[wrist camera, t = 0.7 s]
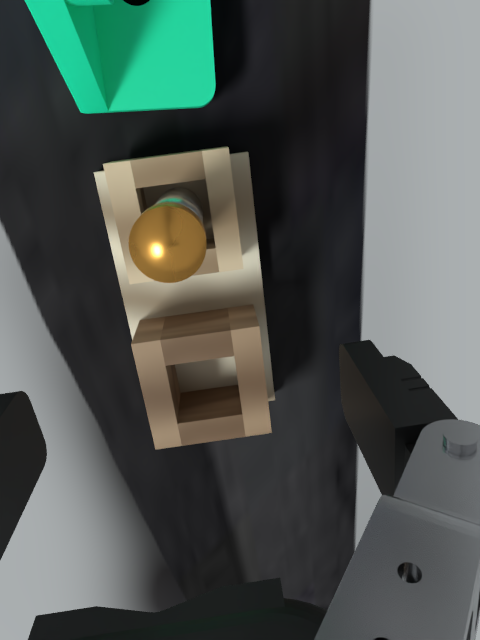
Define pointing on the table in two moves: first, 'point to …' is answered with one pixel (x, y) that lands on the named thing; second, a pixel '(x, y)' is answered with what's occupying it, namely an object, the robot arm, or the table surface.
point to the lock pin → (170, 237)
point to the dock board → (195, 300)
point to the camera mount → (131, 52)
